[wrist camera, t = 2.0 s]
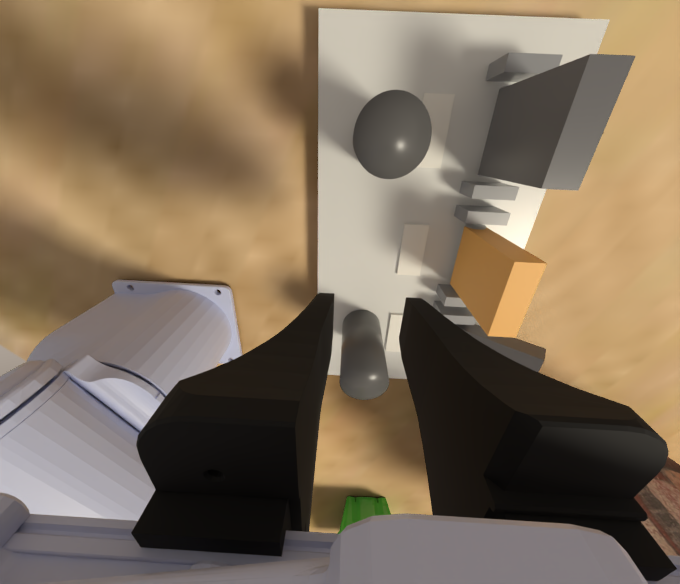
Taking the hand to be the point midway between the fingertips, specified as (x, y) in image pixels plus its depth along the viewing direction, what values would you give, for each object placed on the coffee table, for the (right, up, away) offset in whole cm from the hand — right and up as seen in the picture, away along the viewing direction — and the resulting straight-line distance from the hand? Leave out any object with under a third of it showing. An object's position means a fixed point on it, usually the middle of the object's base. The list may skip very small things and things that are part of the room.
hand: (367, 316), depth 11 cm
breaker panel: (+4, +4, +9) cm, 11 cm away
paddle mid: (+7, +3, +7) cm, 11 cm away
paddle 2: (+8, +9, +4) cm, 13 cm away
